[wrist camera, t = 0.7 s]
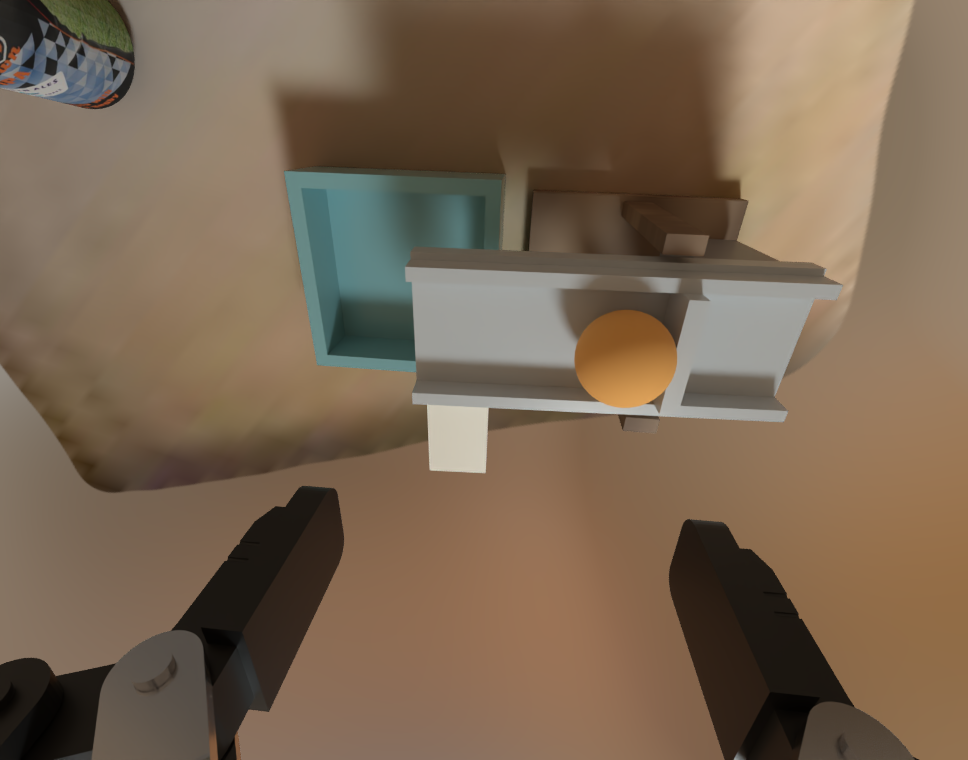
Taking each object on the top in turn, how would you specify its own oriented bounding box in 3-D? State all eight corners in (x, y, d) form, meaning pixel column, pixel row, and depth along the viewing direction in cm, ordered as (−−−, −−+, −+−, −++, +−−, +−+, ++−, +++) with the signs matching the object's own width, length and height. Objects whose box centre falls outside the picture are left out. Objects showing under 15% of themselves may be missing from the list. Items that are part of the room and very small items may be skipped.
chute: (737, 230, 25) (861, 283, 16) (685, 403, 31) (757, 511, 22) (436, 219, 25) (400, 264, 17) (440, 391, 31) (414, 493, 22)
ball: (569, 296, 19) (601, 334, 15) (659, 295, 19) (710, 332, 16) (558, 379, 21) (584, 429, 17) (640, 377, 21) (682, 425, 18)
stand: (741, 198, 26) (854, 234, 17) (695, 354, 31) (764, 447, 22) (533, 189, 27) (533, 219, 18) (521, 342, 31) (516, 427, 22)
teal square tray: (315, 166, 27) (283, 171, 24) (505, 173, 26) (501, 180, 23) (340, 340, 33) (317, 365, 29) (497, 351, 32) (492, 377, 28)
